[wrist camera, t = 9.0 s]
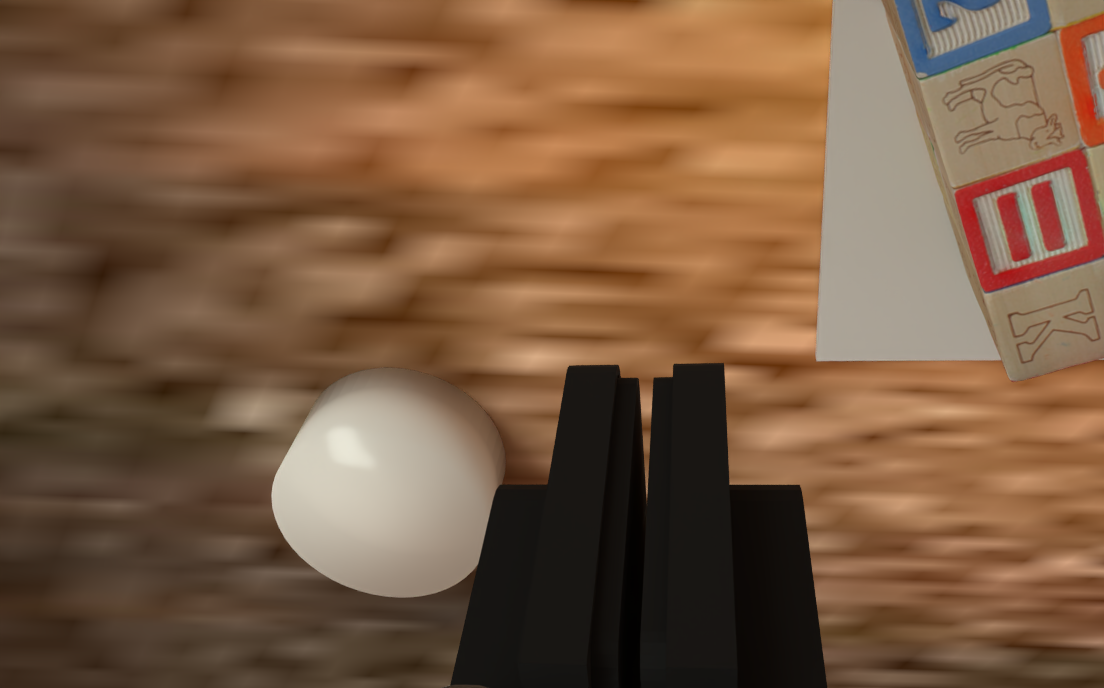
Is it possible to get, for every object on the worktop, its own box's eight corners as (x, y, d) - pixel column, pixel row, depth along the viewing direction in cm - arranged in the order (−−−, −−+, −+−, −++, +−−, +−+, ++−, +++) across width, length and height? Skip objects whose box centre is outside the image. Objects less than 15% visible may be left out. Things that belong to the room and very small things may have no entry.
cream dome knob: (287, 365, 40) (247, 429, 36) (493, 364, 38) (471, 431, 35) (330, 523, 44) (298, 594, 41) (516, 527, 43) (500, 600, 39)
